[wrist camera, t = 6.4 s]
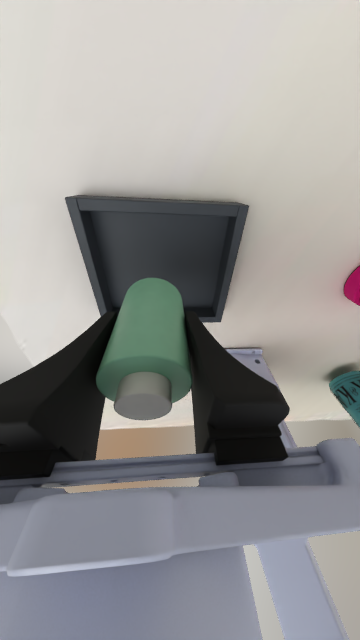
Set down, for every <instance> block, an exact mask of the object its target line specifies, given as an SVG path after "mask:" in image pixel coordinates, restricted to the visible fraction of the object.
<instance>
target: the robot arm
mask: <svg viewBox="0 0 360 640" xmlns="http://www.w3.org/2000/svg"><path fill="white" fill-rule="evenodd" d="M117 317H118V316H117V312H106V313H105V314H104V315H103V316H102V317H100V318H99V319H98V320H97V321H96V322H95V323H94V324H93V325H92V326H91V327H90V328H88V329H87V330H86V331H85V332H84V333H83V334H81V335H80V336H79V337H78V338H76V339H75V340H74V341H73V342H71V343H70V344H69V345H67V346H66V347H65V348H63V349H62V350H60V351H59V352H57V353H56V354H54V355H53V356H51V357H50V358H48V359H46V360H45V361H43V362H41V363H40V364H38V365H36V366H35V367H33V368H31V369H29V370H27V371H26V372H24V373H22V374H20V375H18V376H16V377H14V378H12V379H10V380H8V381H6V382H4V383H2V384H0V640H262V635H261V631H260V626H259V621H258V616H257V611H256V607H255V602H254V597H253V592H252V588H251V583H250V578H249V573H248V568H247V564H246V559H245V555H244V550H243V545H251V544H254V546H256V548H257V550H258V553H259V556H260V560H261V563H262V566H263V569H264V573H265V576H266V579H267V582H268V586H269V589H270V592H271V595H272V599H273V602H274V605H275V609H276V612H277V615H278V619H279V622H280V625H281V628H282V632H283V635H284V639H285V640H349V638H348V635H347V633H346V630H345V628H344V625H343V623H342V621H341V618H340V616H339V614H338V611H337V609H336V606H335V604H334V602H333V599H332V597H331V595H330V592H329V590H328V587H327V585H326V583H325V580H324V578H323V575H322V573H321V570H320V568H319V566H318V563H317V561H316V559H315V556H314V554H313V551H312V549H311V546H310V544H309V542H308V537H313V536H321V535H330V534H337V533H345V532H353V531H360V446H359V445H358V444H357V442H356V441H355V439H353V438H342V439H329V440H325V441H322V442H320V443H319V444H317V446H313V447H297V446H296V444H295V442H294V440H293V438H292V435H291V434H290V431H289V429H288V427H287V425H286V423H285V421H284V419H285V418H286V416H287V415H288V414H289V409H290V408H289V406H288V404H287V402H286V401H285V399H284V397H283V395H282V393H281V391H280V388H279V386H278V384H277V382H276V381H275V379H274V377H273V375H272V373H271V371H270V370H269V368H268V366H267V364H266V362H265V361H264V359H263V357H262V355H261V354H262V352H263V351H262V349H260V348H257V349H224V348H223V347H222V346H221V345H220V344H219V343H218V342H217V341H216V340H215V338H214V337H213V336H212V335H211V334H210V333H209V331H208V330H207V329H206V327H205V326H204V325H203V323H202V322H201V320H200V319H199V317H198V316H197V314H196V313H195V312H194V311H185V326H186V333H187V340H188V348H189V356H190V363H191V371H192V378H193V383H192V387H191V391H192V403H193V415H194V429H195V444H196V454H186V455H172V456H171V455H170V456H155V457H140V458H139V457H138V458H123V459H107V460H95V458H96V451H97V443H98V437H99V431H100V425H101V419H102V413H103V408H104V403H105V398H106V397H105V396H104V395H103V394H102V393H101V392H100V391H99V389H98V387H97V385H96V375H97V372H98V369H99V367H100V364H101V361H102V358H103V356H104V353H105V350H106V347H107V345H108V342H109V339H110V336H111V334H112V331H113V328H114V325H115V323H116V320H117ZM203 476H205V477H203ZM189 477H201V478H200V479H199V486H197V487H149V488H129V489H115V490H103V491H93V492H81V493H67V492H66V491H65V490H64V489H62V488H52V487H66V486H79V485H93V484H106V483H121V482H134V481H148V480H161V479H176V478H189Z"/></svg>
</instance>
